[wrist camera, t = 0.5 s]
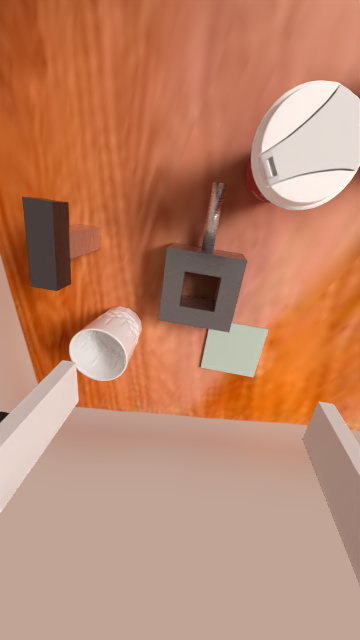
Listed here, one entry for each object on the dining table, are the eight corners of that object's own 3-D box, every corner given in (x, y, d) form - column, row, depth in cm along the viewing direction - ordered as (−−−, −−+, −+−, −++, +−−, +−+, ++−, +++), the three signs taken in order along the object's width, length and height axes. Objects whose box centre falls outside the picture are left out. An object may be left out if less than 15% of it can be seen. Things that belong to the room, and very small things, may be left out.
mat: (210, 318, 40) (210, 319, 40) (267, 328, 40) (268, 330, 39) (200, 366, 44) (200, 367, 43) (252, 375, 43) (253, 377, 43)
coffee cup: (247, 221, 34) (272, 228, 20) (226, 156, 31) (237, 113, 18) (313, 192, 32) (389, 178, 18) (295, 119, 29) (370, 38, 16)
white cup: (122, 292, 40) (95, 317, 31) (155, 328, 42) (139, 361, 33) (90, 320, 43) (57, 350, 34) (122, 353, 45) (99, 390, 35)
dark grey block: (80, 201, 35) (22, 196, 24) (101, 204, 35) (52, 201, 24) (81, 265, 39) (31, 286, 28) (100, 268, 39) (57, 290, 28)
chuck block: (180, 179, 33) (175, 174, 28) (257, 191, 32) (265, 187, 28) (164, 307, 40) (158, 320, 36) (227, 318, 40) (229, 332, 35)
